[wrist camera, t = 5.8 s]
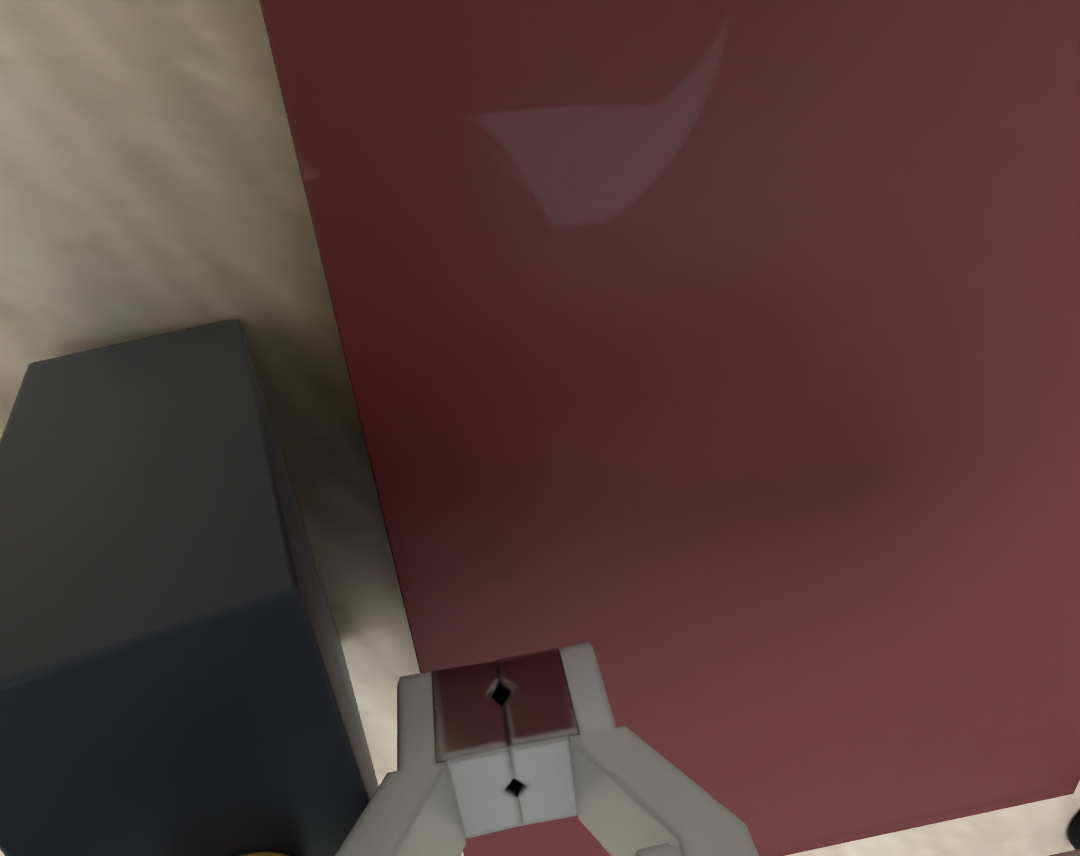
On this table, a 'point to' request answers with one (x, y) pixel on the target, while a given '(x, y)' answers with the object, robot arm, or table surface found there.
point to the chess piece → (1075, 833)
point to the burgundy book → (725, 374)
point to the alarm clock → (165, 617)
